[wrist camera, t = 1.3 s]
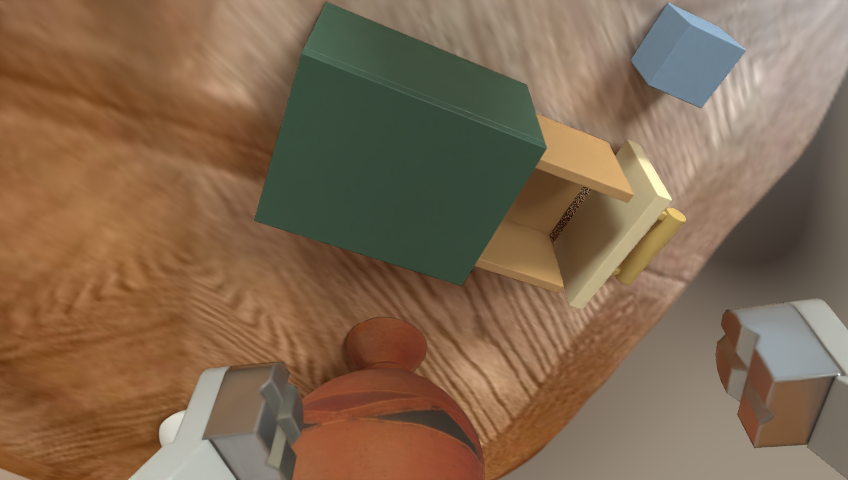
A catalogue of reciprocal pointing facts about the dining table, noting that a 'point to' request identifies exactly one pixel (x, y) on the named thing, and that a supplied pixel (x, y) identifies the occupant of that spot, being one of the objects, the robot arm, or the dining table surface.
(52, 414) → the dining table surface
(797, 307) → the robot arm
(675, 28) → the block
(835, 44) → the dining table surface
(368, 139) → the cabinet
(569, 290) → the drawer
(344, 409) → the goblet
